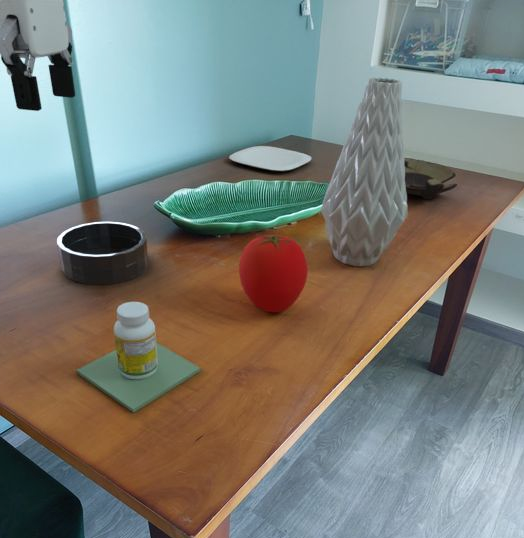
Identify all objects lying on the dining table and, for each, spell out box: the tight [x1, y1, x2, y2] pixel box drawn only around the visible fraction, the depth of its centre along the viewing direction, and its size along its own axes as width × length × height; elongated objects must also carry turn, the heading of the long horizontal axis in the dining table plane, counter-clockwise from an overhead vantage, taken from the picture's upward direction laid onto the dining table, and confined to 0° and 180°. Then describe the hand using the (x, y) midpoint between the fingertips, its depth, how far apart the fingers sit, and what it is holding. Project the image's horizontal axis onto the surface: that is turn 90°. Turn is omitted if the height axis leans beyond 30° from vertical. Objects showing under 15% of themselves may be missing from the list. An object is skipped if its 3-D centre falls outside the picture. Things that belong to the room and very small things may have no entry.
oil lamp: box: [404, 157, 458, 200], centre depth 143 cm, size 22×30×8 cm
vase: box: [320, 77, 409, 268], centre depth 100 cm, size 17×17×33 cm
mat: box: [76, 341, 201, 413], centre depth 74 cm, size 12×12×1 cm
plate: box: [228, 145, 312, 172], centre depth 161 cm, size 22×22×2 cm
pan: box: [56, 221, 149, 286], centre depth 99 cm, size 16×16×6 cm
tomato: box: [238, 232, 308, 313], centre depth 87 cm, size 11×11×13 cm
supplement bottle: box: [113, 301, 158, 379], centre depth 71 cm, size 5×5×10 cm
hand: (47, 102), depth 74 cm, fingers open, 9 cm apart
